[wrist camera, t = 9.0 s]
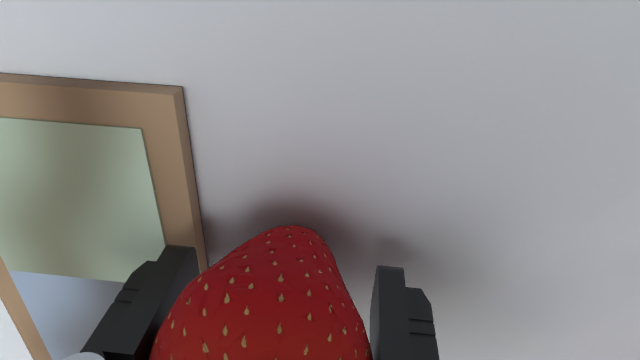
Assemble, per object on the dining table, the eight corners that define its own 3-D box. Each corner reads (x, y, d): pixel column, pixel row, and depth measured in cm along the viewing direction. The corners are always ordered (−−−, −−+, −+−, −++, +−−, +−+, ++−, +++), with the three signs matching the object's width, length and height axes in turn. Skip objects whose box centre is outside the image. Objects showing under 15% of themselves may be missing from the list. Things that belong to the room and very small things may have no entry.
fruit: (267, 311, 16) (190, 607, 9) (182, 203, 13) (-6, 495, 7) (398, 276, 14) (420, 607, 7) (327, 146, 12) (265, 459, 5)
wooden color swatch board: (182, 86, 11) (171, 96, 11) (234, 454, 22) (230, 469, 22) (-100, 65, 12) (-125, 73, 11) (87, 435, 23) (79, 449, 22)
